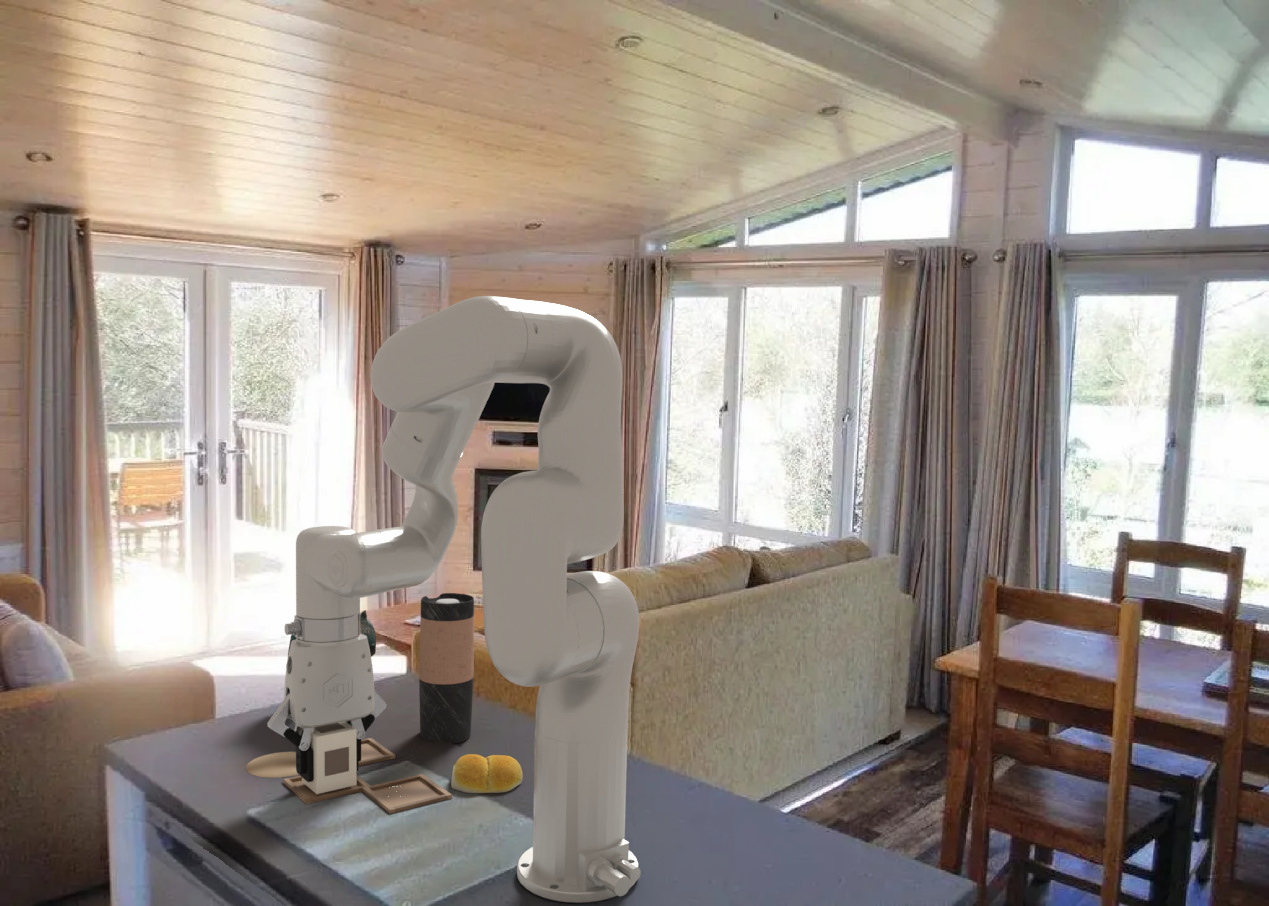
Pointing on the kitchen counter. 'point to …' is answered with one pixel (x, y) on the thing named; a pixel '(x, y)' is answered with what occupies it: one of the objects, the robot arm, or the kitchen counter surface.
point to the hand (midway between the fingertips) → (329, 771)
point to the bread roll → (486, 774)
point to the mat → (273, 765)
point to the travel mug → (446, 667)
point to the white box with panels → (333, 757)
